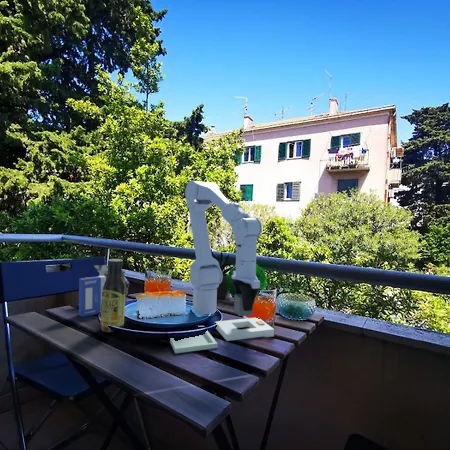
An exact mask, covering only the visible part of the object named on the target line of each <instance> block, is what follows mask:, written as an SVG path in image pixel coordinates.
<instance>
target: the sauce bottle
mask: <svg viewBox="0 0 450 450" xmlns="http://www.w3.org/2000/svg"><path fill="white" fill-rule="evenodd" d="M123 265H124V261H123V259H121V258H120V259H119V258H110V259H108V260H107V266H108V275H107V278H106V281H105V284H104V287H103V289H102V303H101V313H100V330H101V331H102V332H104V333H114V332H113V331H112V330H111V329H110V328H109V327H108V326H109V325H110V326H123V327H124V324H125V309H126V302H125V300H126V298H125V297H126V296H125V295H126V292H125V284H126V283H125V282H124V280H123V278H122V270H123Z"/></svg>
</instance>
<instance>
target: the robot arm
mask: <svg viewBox="0 0 450 450" xmlns="http://www.w3.org/2000/svg"><path fill="white" fill-rule="evenodd" d="M184 190H185V191H184V196H185V203H186V207H187V208H188V212H189V219H190V226H191V232H192V238H193V245H194V253H195V259H194V260H193V262H192V263H191V264H190V265H189V268H190V272H189V281H190V285H192V288H193V292H192V308H194V310H195V313H198V314H210V313H211V314H214V313H215V312H216V311H217V303H218V302H217V301H218V300H217V297H218V296H217V295H218V292H217V291H218V288H219V286H220V284H221V283H222V282H223V277H224V276H223V275H224V274H223V271H222V269H221V267H220V263H219V261H218V260H217V259H216V258H214V257H213V256H212V255H213V254H212V248H211V242H210V236H209V229H208V224H207V216H206V210H207V209H210V207H211V206H212V205H214V206H215V207H217V208H218V209H219V210H220V211H221V217H222V218H223V219H224V220H225V221H226V222H227V223H228V225H230V226H231V228H232V229H231V230H232V234H233V236H234V242H235V244H236V248H235V249H236V250H235V270H232V275H231V276H230V277H231V279H232V280H230V283H231V285H232V287H233V290H234V295H235V294H242V298H243V308H244V311H250V310H252V307H253V308H254V304H255V300H256V297H257V295H258V293H259V292H260V290H261V281H260V280H259V278H258V277H257V246H258V237H259V236H260V235H261V233H262V230H263V229H262V228H263V226H262V223H261V221H260V220H259V218H258V217H257V216H256V217H255V216H253V217H252V216H250V215H249V213H248V212H245V211H244V209H243V208H242V207H241V206H240V204H239V203H238V202H233V201H232V202H230V201H229V200H228V198H227V197H226V196H225V195H224V194H223V193H222V191H221V189H220V186H219V185H218V184H217V183H216V182H206V181H196V180H192V179H191V180H190V181H188V183H187V185H186V187H185V189H184Z"/></svg>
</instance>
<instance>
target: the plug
mask: <svg viewBox="0 0 450 450" xmlns="http://www.w3.org/2000/svg"><path fill="white" fill-rule="evenodd" d="M233 296H234V299H233V300H234V302H233V307H234V308H233V312H234V314H236V315H238V317H243V316H244V317H245V316H252V315H254V314H253V312H254V310H253V309H254V306H253V307H252V310H250V311H244V308H243V298H242V294H235V293H234V295H233Z"/></svg>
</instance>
